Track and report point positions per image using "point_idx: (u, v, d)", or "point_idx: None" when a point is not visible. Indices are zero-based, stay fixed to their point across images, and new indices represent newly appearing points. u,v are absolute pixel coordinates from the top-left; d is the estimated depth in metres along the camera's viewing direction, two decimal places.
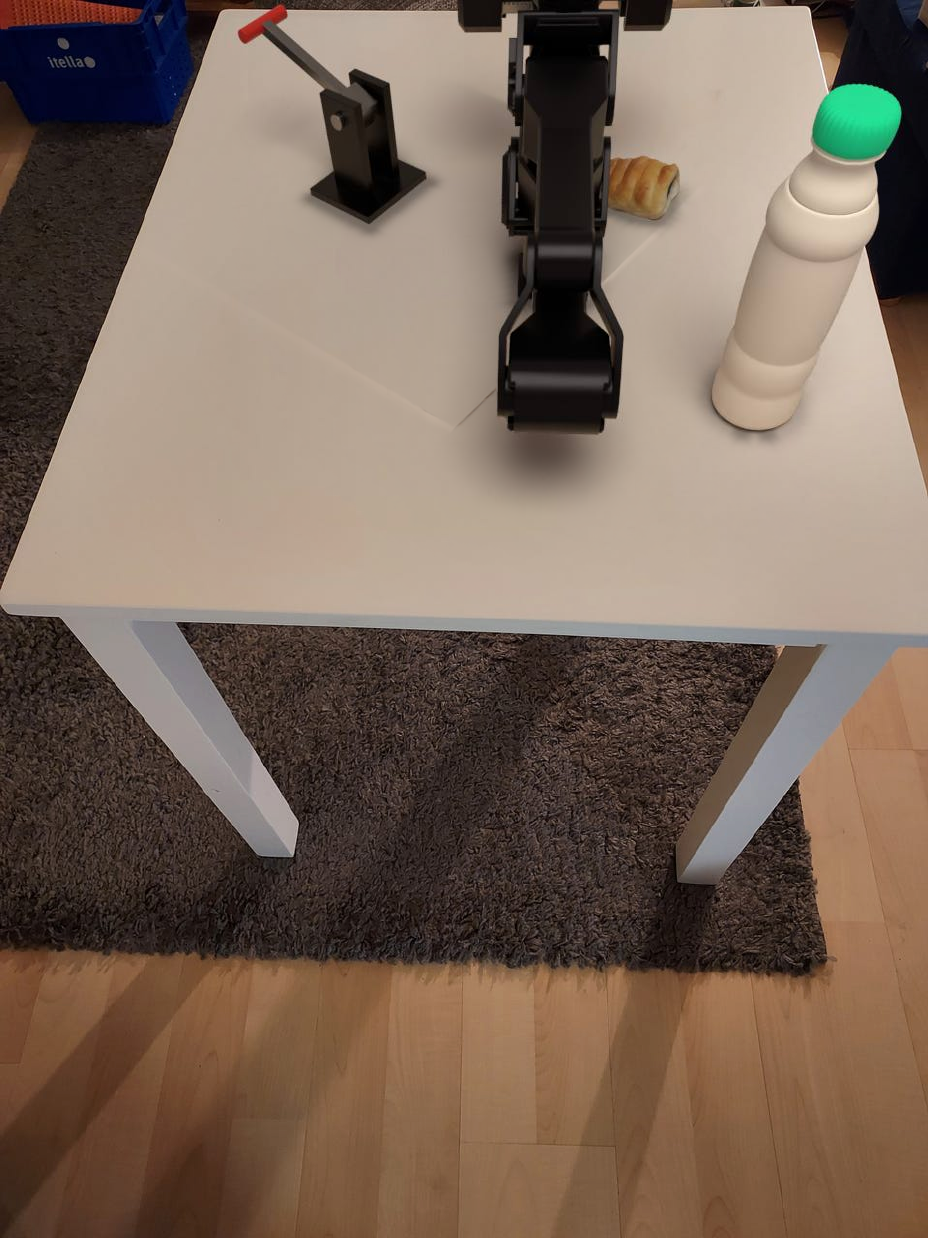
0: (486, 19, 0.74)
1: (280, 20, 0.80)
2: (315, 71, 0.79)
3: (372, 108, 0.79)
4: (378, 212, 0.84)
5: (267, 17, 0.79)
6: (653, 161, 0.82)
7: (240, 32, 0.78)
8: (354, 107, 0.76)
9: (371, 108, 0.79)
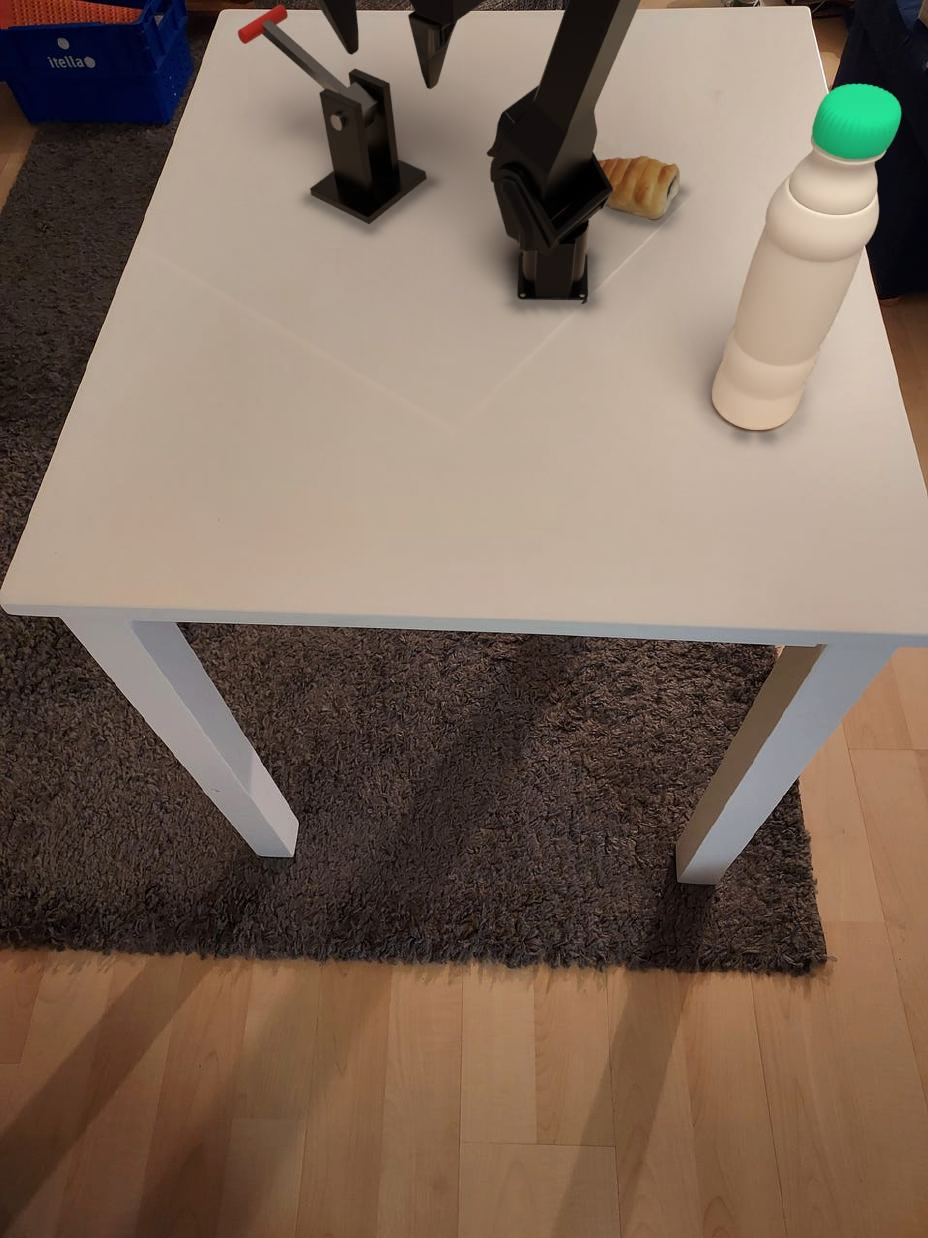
0: None
1: (280, 20, 0.80)
2: (315, 71, 0.79)
3: (372, 108, 0.79)
4: (378, 212, 0.84)
5: (267, 17, 0.79)
6: (653, 161, 0.82)
7: (240, 32, 0.78)
8: (354, 107, 0.76)
9: (371, 108, 0.79)
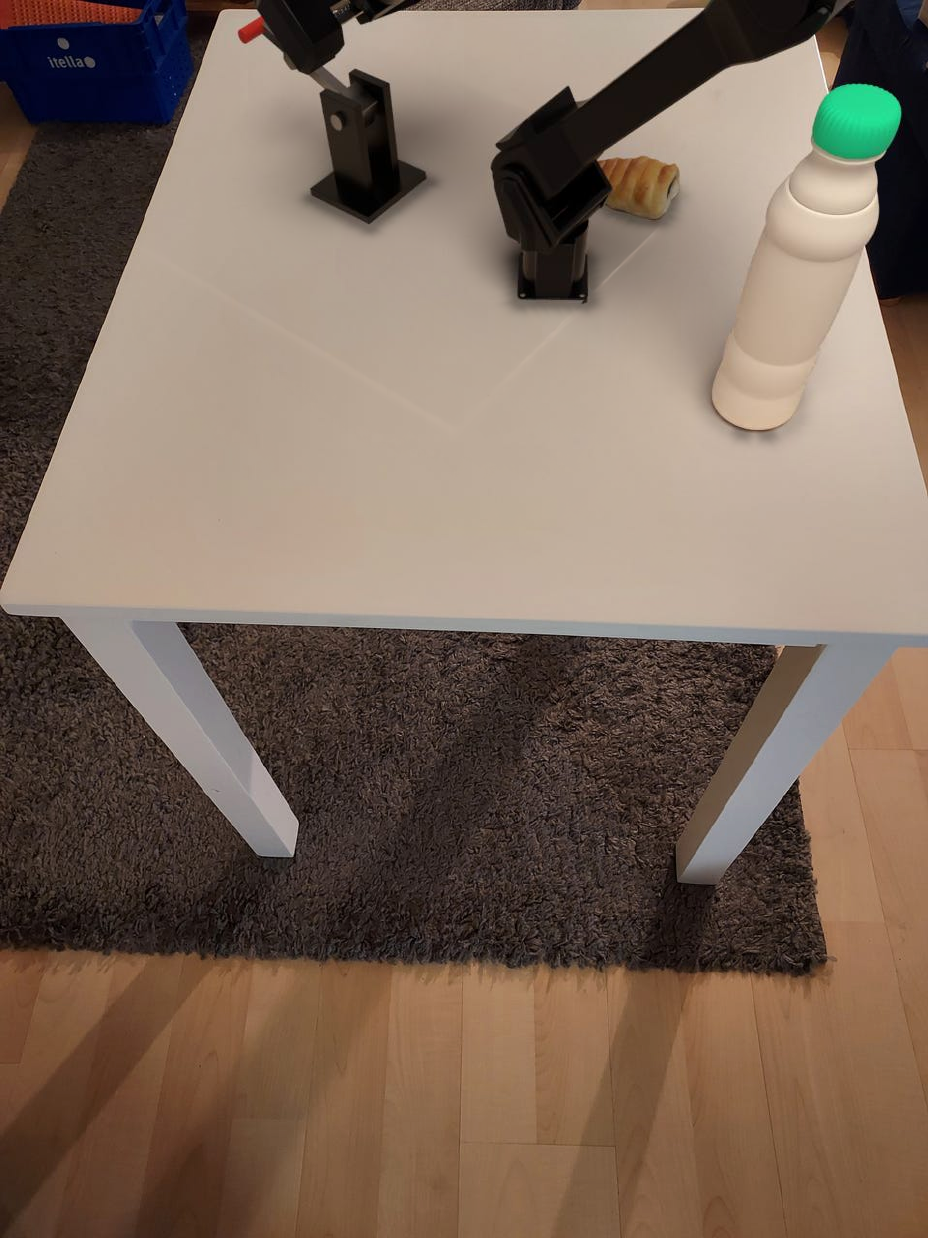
0: (326, 26, 0.66)
1: None
2: (315, 71, 0.79)
3: (372, 108, 0.79)
4: (378, 212, 0.84)
5: None
6: (653, 161, 0.82)
7: (240, 32, 0.78)
8: (354, 107, 0.76)
9: (371, 108, 0.79)
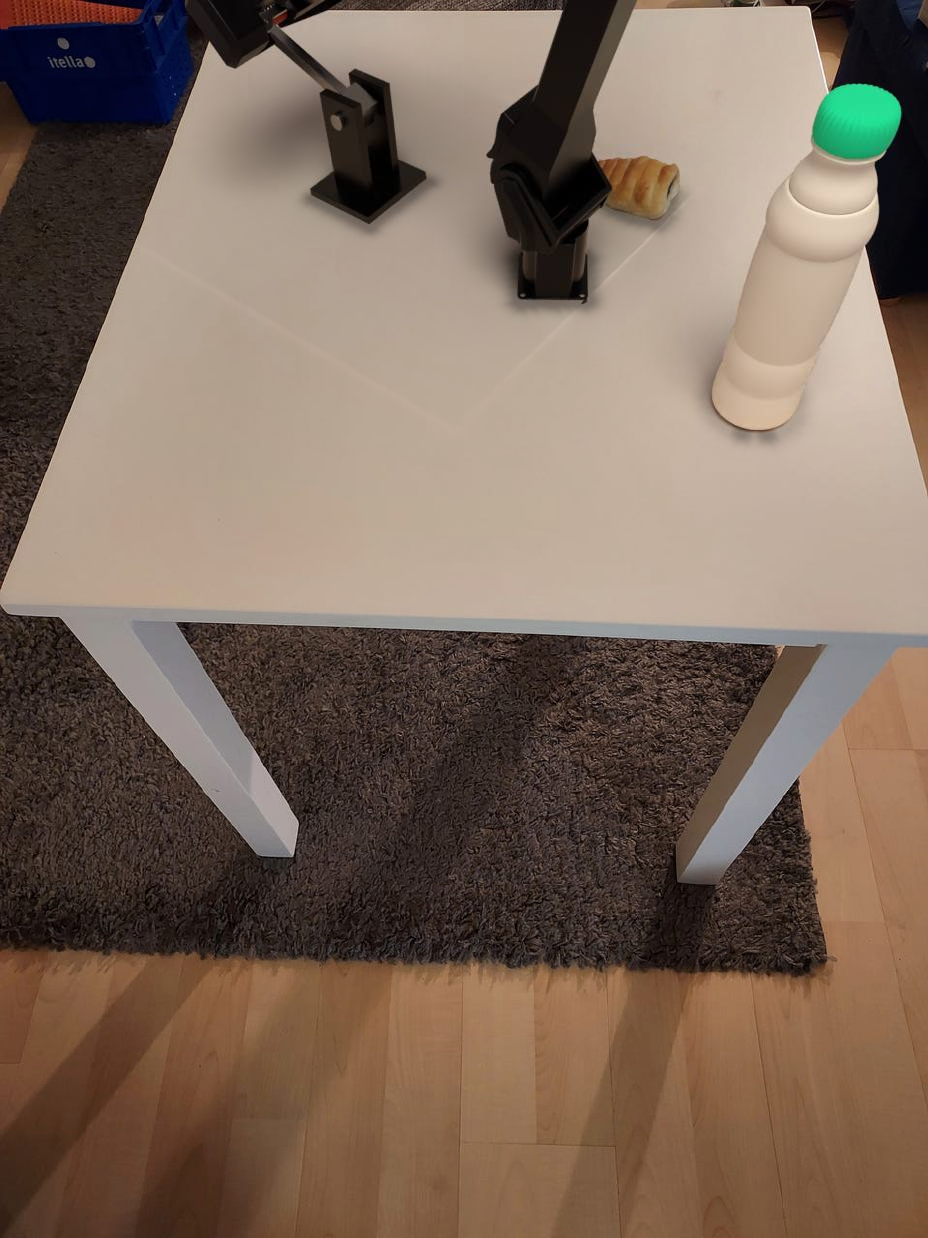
0: (250, 23, 0.71)
1: (280, 20, 0.80)
2: (315, 71, 0.79)
3: (372, 108, 0.79)
4: (378, 212, 0.84)
5: None
6: (653, 161, 0.82)
7: None
8: (354, 107, 0.76)
9: (371, 108, 0.79)
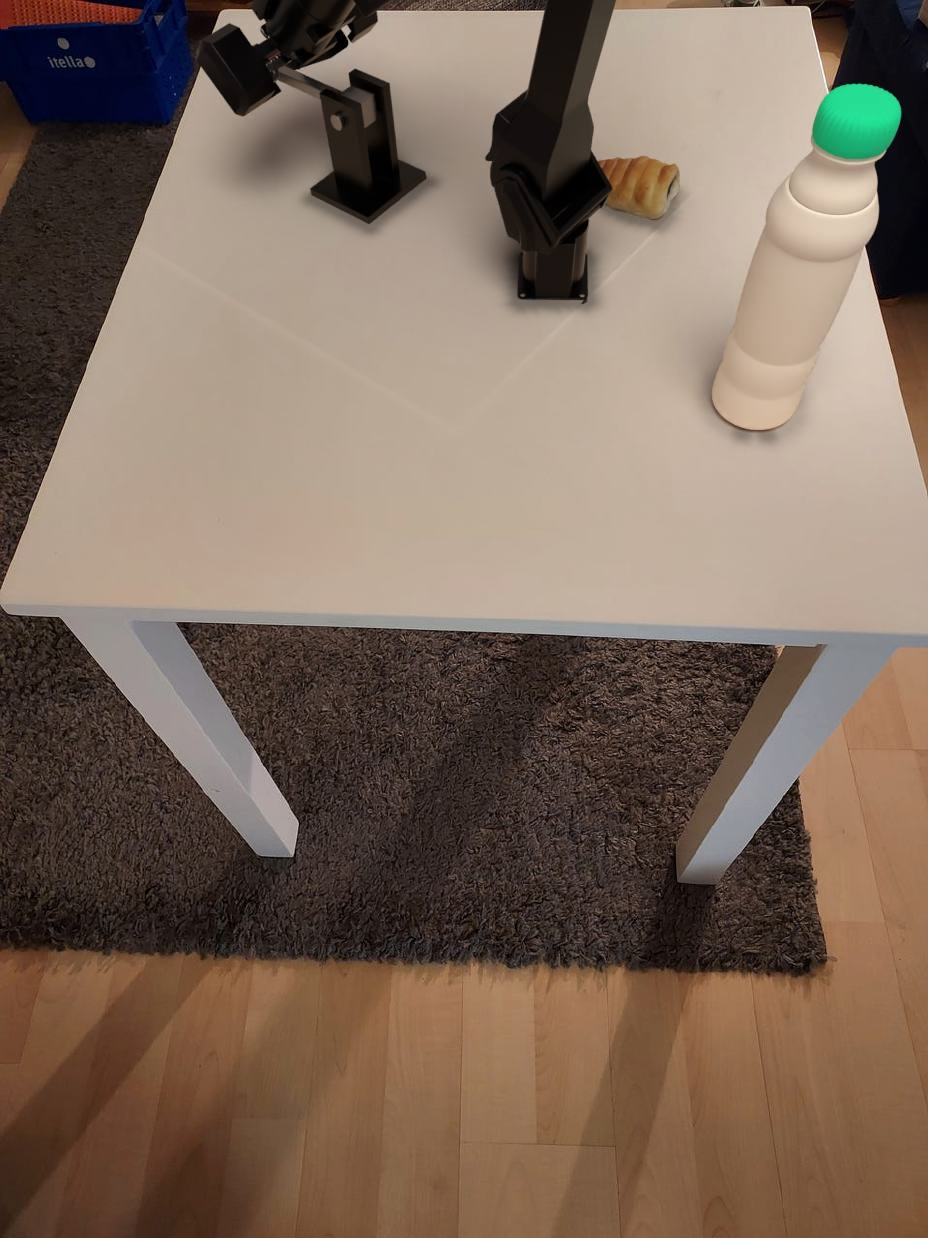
0: (257, 75, 0.75)
1: None
2: (315, 88, 0.80)
3: (370, 102, 0.78)
4: (378, 212, 0.84)
5: None
6: (653, 161, 0.82)
7: None
8: (354, 107, 0.76)
9: (369, 101, 0.78)
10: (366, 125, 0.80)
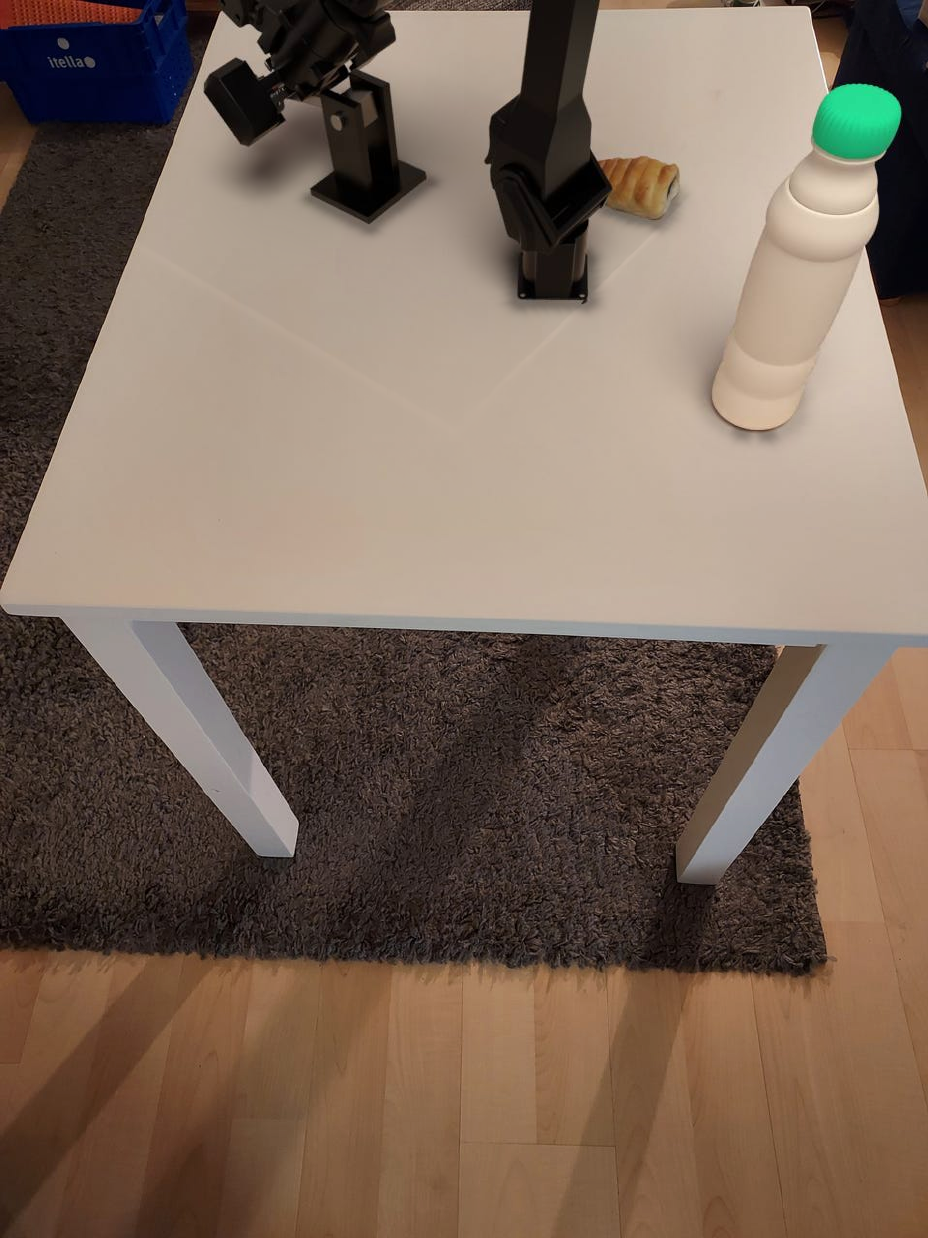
0: (263, 108, 0.78)
1: None
2: (316, 96, 0.81)
3: (369, 99, 0.78)
4: (378, 212, 0.84)
5: None
6: (653, 161, 0.82)
7: None
8: (354, 107, 0.76)
9: (368, 98, 0.78)
10: (367, 123, 0.79)
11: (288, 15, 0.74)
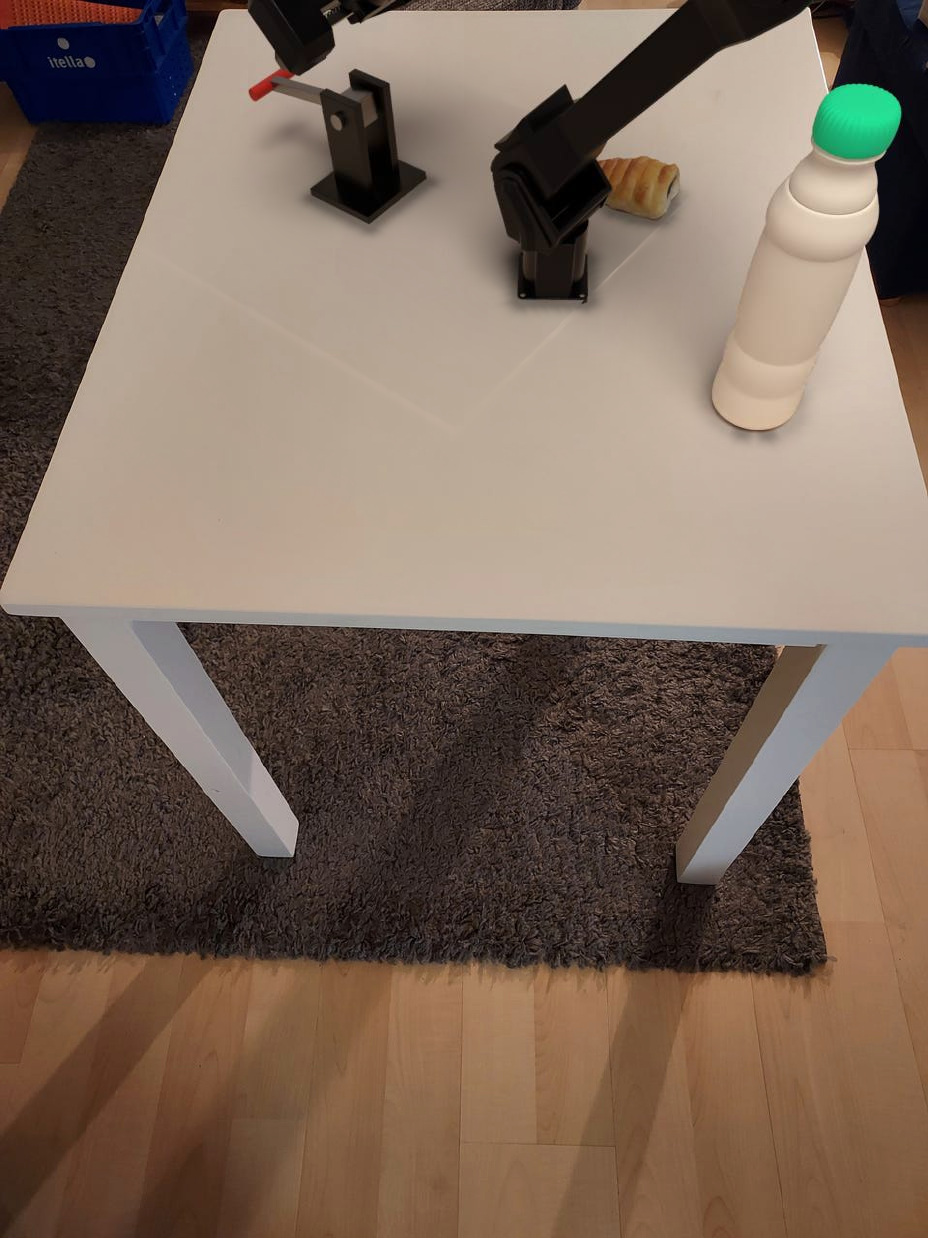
0: (316, 28, 0.66)
1: (288, 75, 0.85)
2: (316, 94, 0.81)
3: (369, 100, 0.78)
4: (378, 212, 0.84)
5: (274, 75, 0.84)
6: (653, 161, 0.82)
7: (250, 92, 0.83)
8: (354, 107, 0.76)
9: (368, 99, 0.78)
10: (367, 124, 0.79)
11: None
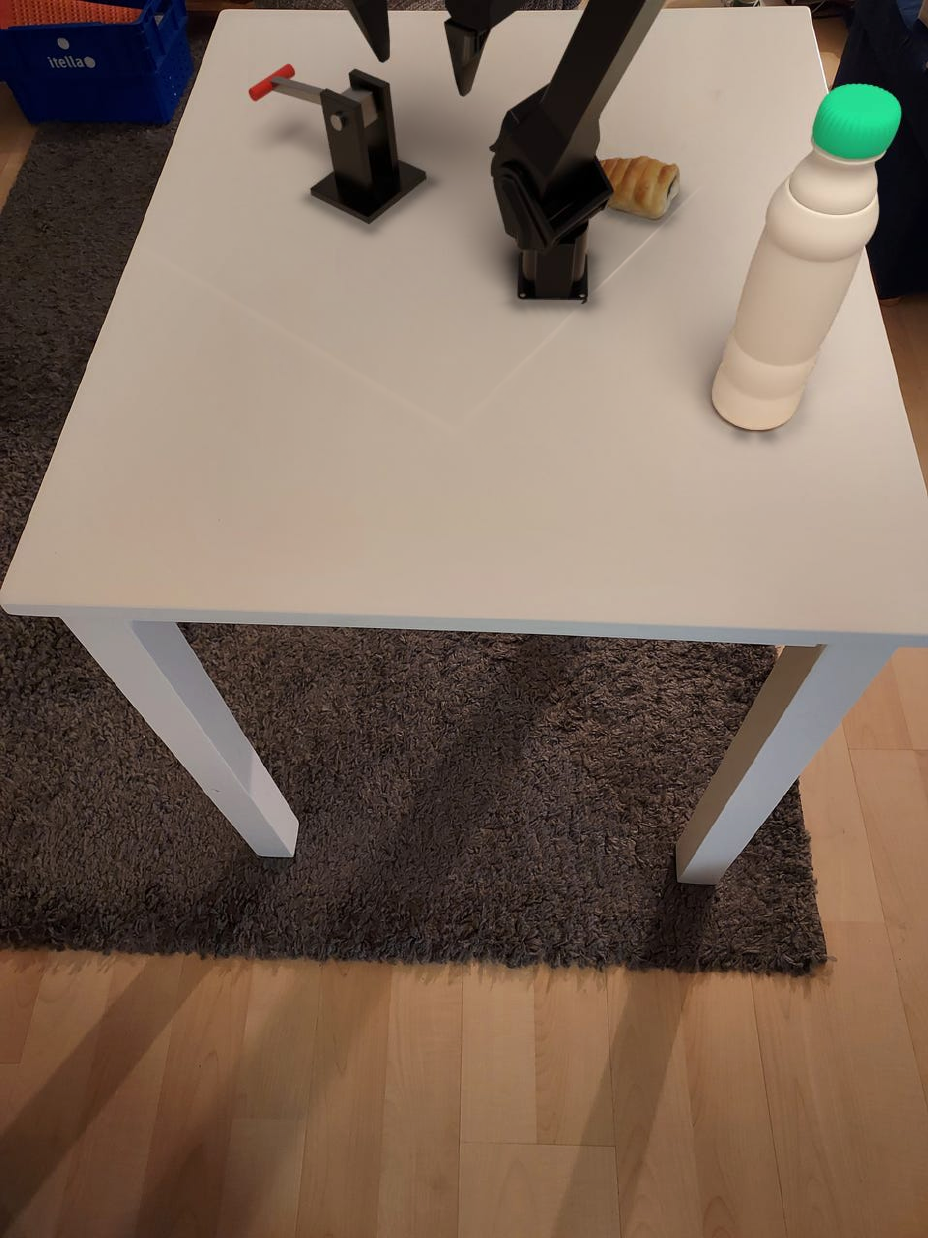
0: None
1: (288, 75, 0.85)
2: (316, 94, 0.81)
3: (369, 100, 0.78)
4: (378, 212, 0.84)
5: (274, 75, 0.84)
6: (653, 161, 0.82)
7: (250, 92, 0.83)
8: (354, 107, 0.76)
9: (368, 99, 0.78)
10: (367, 124, 0.79)
11: None
